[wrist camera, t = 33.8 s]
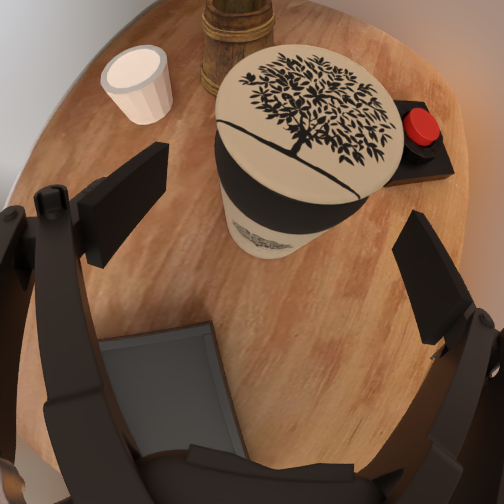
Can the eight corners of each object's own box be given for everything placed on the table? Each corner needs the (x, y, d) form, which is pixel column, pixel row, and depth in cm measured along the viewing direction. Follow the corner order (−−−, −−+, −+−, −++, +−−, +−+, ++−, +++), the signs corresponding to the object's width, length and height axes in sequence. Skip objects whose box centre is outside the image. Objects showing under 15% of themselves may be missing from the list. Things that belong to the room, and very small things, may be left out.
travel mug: (260, 163, 28) (288, 19, 10) (325, 211, 28) (433, 115, 10) (209, 224, 27) (162, 120, 9) (277, 276, 27) (350, 258, 9)
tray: (253, 471, 24) (254, 483, 22) (137, 479, 23) (132, 490, 21) (212, 320, 26) (209, 323, 24) (86, 341, 25) (75, 344, 23)
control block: (444, 179, 29) (463, 168, 25) (383, 187, 28) (401, 174, 24) (416, 109, 30) (431, 94, 26) (353, 109, 29) (366, 90, 25)
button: (436, 146, 26) (444, 139, 24) (411, 147, 25) (419, 140, 24) (423, 115, 26) (430, 108, 24) (397, 115, 26) (404, 106, 24)
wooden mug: (296, 42, 30) (323, -66, 13) (260, 111, 29) (280, -31, 11) (234, 25, 30) (236, -81, 13) (187, 89, 29) (158, -41, 11)
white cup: (111, 123, 28) (87, 89, 21) (140, 79, 29) (124, 42, 22) (161, 135, 28) (143, 98, 21) (188, 88, 29) (179, 47, 22)
